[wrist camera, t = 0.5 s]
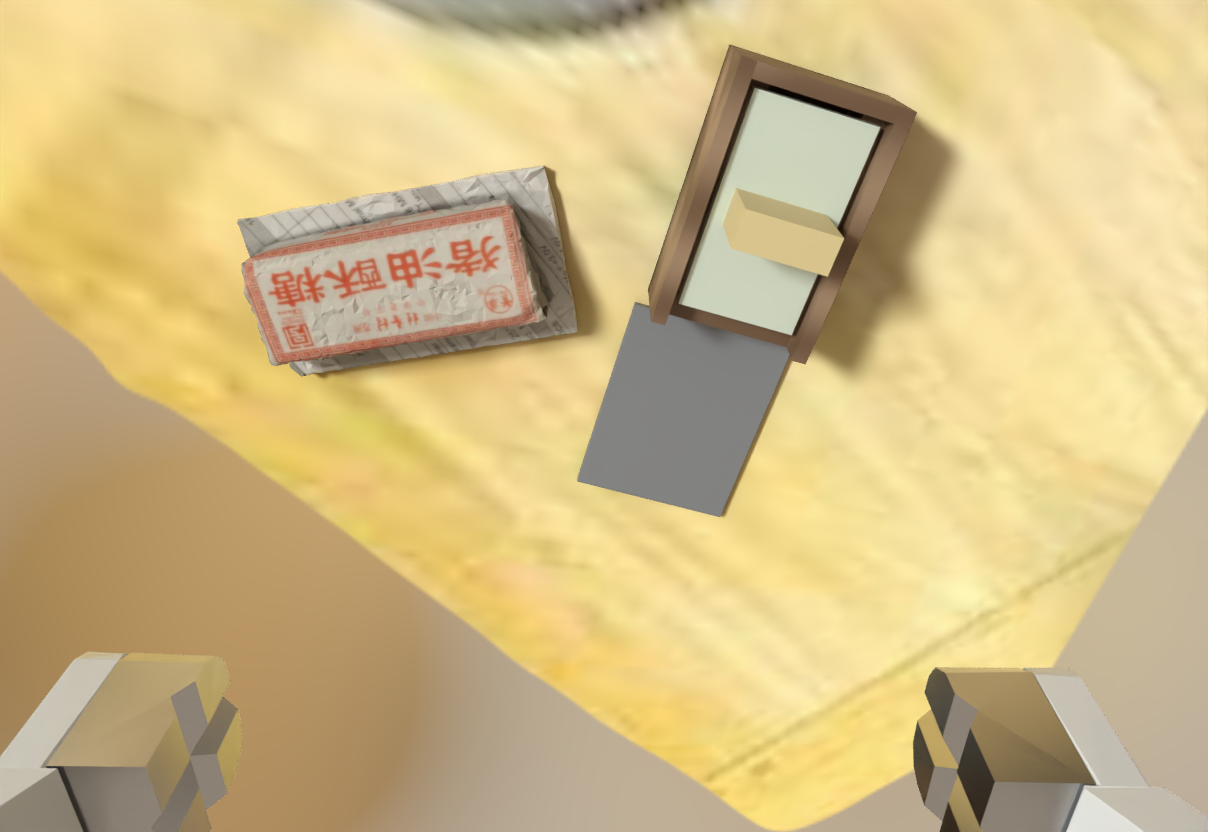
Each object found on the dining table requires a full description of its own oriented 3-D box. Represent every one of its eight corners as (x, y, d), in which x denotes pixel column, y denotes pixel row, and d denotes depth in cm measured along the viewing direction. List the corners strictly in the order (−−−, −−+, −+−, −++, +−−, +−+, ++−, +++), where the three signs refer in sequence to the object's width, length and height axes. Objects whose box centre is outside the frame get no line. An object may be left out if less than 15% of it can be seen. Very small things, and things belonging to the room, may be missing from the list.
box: (729, 44, 46) (741, 56, 41) (889, 95, 47) (916, 112, 43) (648, 289, 52) (651, 321, 48) (789, 328, 53) (805, 364, 49)
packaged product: (274, 404, 51) (208, 239, 47) (300, 368, 56) (242, 214, 51) (577, 356, 50) (540, 180, 45) (581, 323, 54) (547, 159, 49)
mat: (635, 302, 53) (635, 304, 52) (791, 345, 54) (792, 348, 54) (577, 478, 59) (577, 481, 58) (719, 513, 60) (719, 517, 60)
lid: (752, 85, 43) (767, 101, 39) (876, 124, 44) (903, 144, 40) (677, 298, 49) (683, 332, 45) (789, 329, 50) (805, 366, 45)
